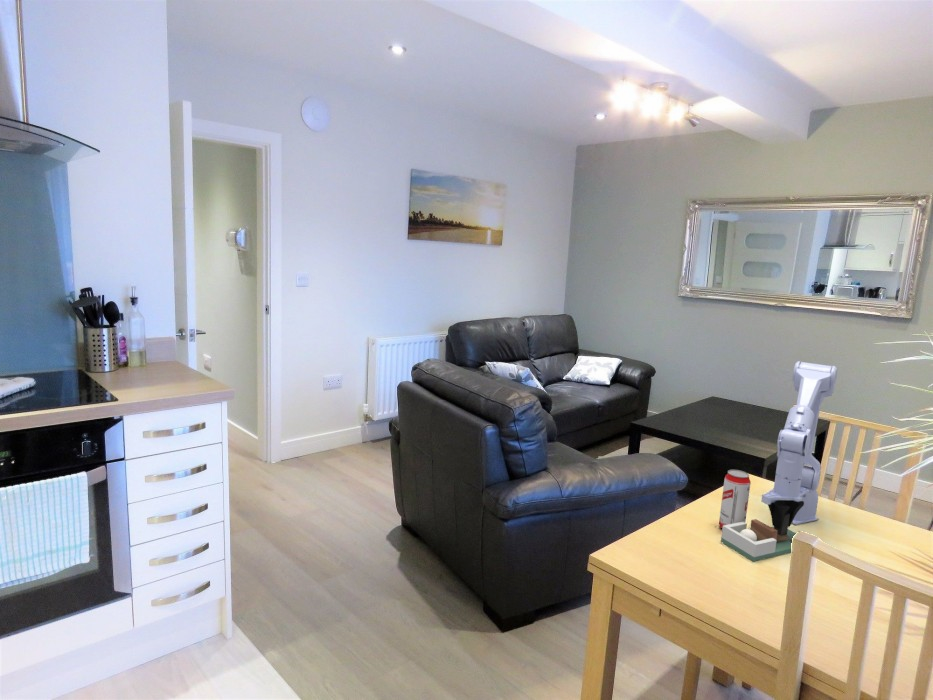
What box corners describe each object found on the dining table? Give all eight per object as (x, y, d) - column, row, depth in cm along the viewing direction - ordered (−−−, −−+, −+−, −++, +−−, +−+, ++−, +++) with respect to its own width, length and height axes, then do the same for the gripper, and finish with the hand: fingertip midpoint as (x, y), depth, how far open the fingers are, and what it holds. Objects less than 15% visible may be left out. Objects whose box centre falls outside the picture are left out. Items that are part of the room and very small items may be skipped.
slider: (772, 529, 151) (775, 506, 150) (793, 541, 145) (797, 517, 144) (749, 534, 148) (752, 511, 147) (770, 546, 142) (774, 522, 141)
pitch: (779, 528, 155) (781, 513, 154) (813, 547, 146) (816, 531, 145) (720, 541, 147) (722, 525, 146) (753, 561, 138) (755, 544, 137)
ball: (736, 527, 144) (734, 542, 144) (749, 534, 140) (747, 549, 141) (748, 525, 145) (745, 539, 146) (761, 532, 141) (759, 547, 142)
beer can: (738, 525, 156) (746, 469, 153) (747, 536, 150) (755, 478, 147) (715, 523, 157) (722, 467, 154) (722, 534, 150) (730, 477, 148)
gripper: (782, 485, 138) (774, 537, 141) (823, 478, 144) (815, 528, 146) (757, 474, 145) (750, 524, 147) (797, 468, 150) (790, 516, 153)
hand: (781, 525), depth 147 cm, fingers open, 3 cm apart
